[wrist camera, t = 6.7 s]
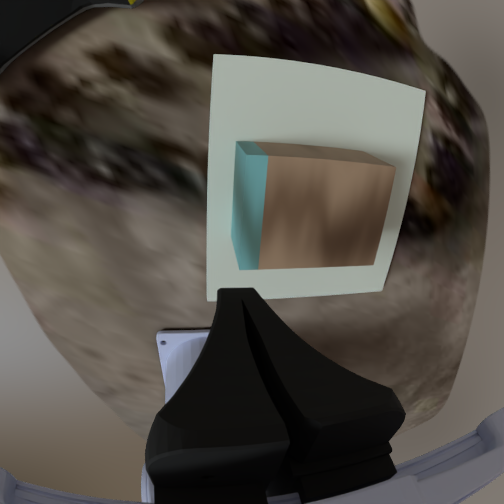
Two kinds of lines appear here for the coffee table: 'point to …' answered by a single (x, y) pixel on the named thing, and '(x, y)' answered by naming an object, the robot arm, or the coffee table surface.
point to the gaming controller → (40, 21)
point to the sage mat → (305, 133)
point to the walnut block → (307, 206)
